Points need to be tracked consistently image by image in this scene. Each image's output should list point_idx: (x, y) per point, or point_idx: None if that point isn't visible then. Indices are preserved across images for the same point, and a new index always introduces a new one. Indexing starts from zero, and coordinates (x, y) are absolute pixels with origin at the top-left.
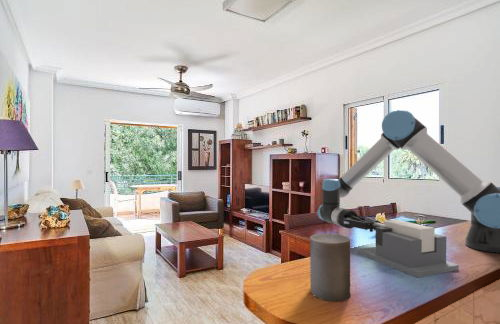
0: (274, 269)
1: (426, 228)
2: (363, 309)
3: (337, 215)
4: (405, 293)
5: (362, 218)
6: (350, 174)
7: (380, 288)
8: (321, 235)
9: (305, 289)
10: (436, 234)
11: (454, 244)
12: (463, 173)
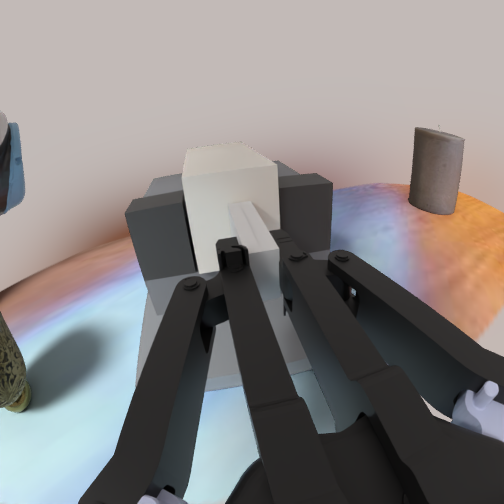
0: None
1: (213, 145)
2: (394, 189)
3: None
4: (336, 199)
5: (307, 411)
6: None
7: (367, 206)
8: (452, 135)
9: (459, 211)
10: (154, 184)
11: None
12: None
